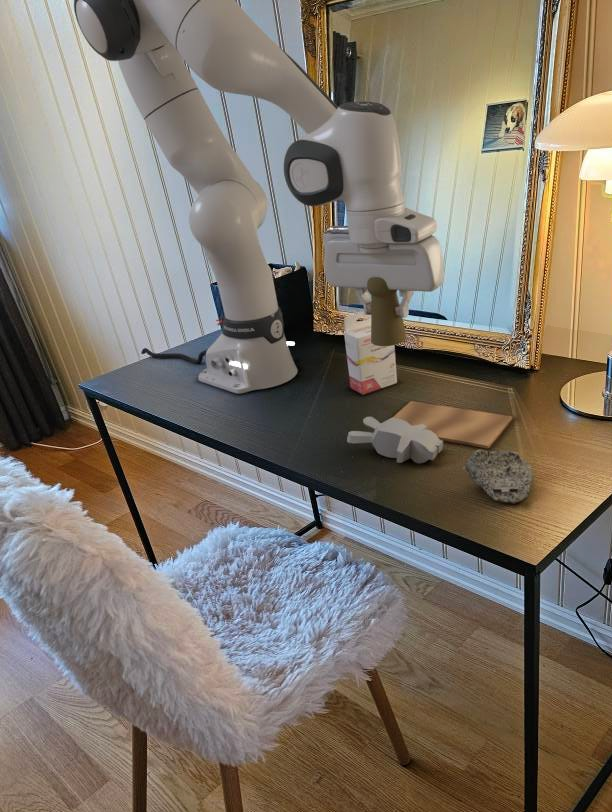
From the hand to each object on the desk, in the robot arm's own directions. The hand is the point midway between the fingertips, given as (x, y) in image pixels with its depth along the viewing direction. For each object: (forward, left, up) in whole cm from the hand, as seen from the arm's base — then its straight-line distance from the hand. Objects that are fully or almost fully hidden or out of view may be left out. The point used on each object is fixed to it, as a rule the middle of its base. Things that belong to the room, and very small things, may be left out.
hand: (386, 315), depth 106 cm
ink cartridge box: (-12, +13, -20) cm, 26 cm away
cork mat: (+9, +2, -20) cm, 22 cm away
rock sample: (+26, -14, -20) cm, 35 cm away
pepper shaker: (0, 0, -4) cm, 4 cm away
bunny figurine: (+5, -10, -20) cm, 23 cm away
